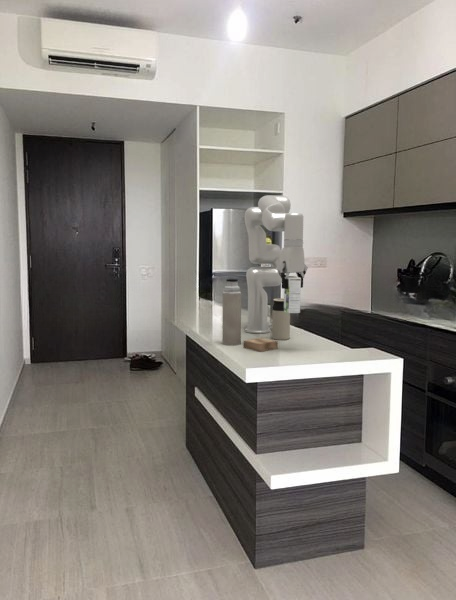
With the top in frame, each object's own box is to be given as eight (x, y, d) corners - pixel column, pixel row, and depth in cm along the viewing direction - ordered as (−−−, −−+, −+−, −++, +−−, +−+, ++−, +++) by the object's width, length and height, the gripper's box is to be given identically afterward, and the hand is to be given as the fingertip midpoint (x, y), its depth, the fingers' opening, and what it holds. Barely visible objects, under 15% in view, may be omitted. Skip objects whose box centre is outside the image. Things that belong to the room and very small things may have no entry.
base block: (261, 344, 228) (261, 337, 228) (277, 348, 221) (277, 341, 220) (243, 347, 222) (243, 340, 222) (259, 351, 214) (259, 344, 214)
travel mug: (293, 339, 242) (293, 299, 239) (279, 340, 237) (279, 300, 235) (282, 336, 248) (283, 297, 246) (268, 337, 244) (269, 298, 242)
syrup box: (283, 311, 219) (283, 276, 217) (297, 311, 219) (298, 276, 217) (286, 313, 213) (286, 277, 211) (300, 313, 214) (301, 277, 212)
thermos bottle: (226, 341, 236) (226, 278, 233) (243, 342, 233) (243, 278, 230) (219, 344, 228) (220, 279, 225) (237, 345, 226) (238, 279, 223)
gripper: (301, 243, 221) (300, 286, 223) (271, 244, 210) (270, 288, 212) (314, 244, 215) (313, 287, 218) (285, 244, 204) (284, 290, 206)
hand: (292, 287), depth 215 cm, fingers closed on syrup box, 7 cm apart
